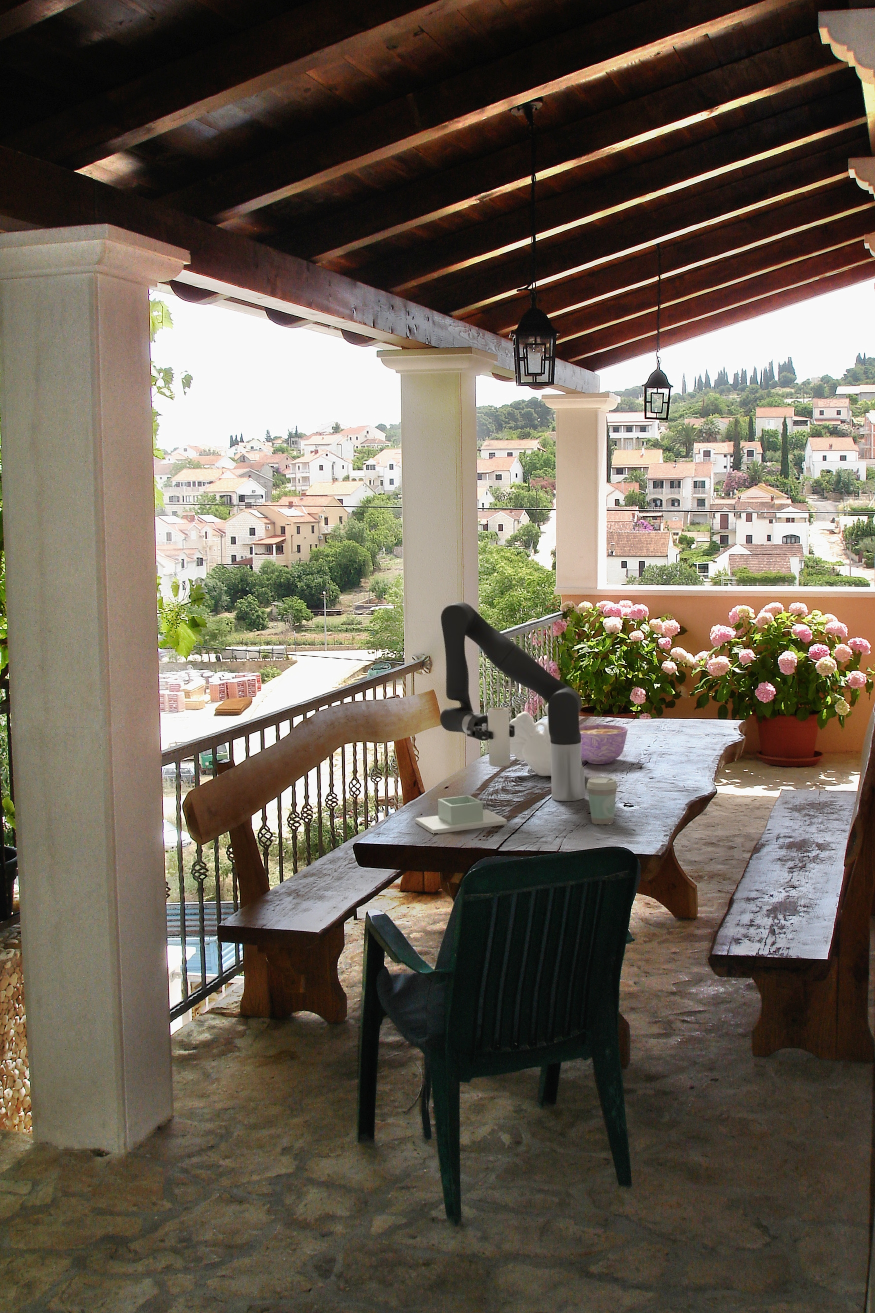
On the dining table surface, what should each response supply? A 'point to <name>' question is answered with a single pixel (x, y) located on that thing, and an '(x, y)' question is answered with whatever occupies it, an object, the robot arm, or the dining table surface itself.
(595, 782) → the coffee cup
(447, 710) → the robot arm
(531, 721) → the decorative rooster
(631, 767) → the dining table surface
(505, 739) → the paper roll
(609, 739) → the bowl of food
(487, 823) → the roll caddy
